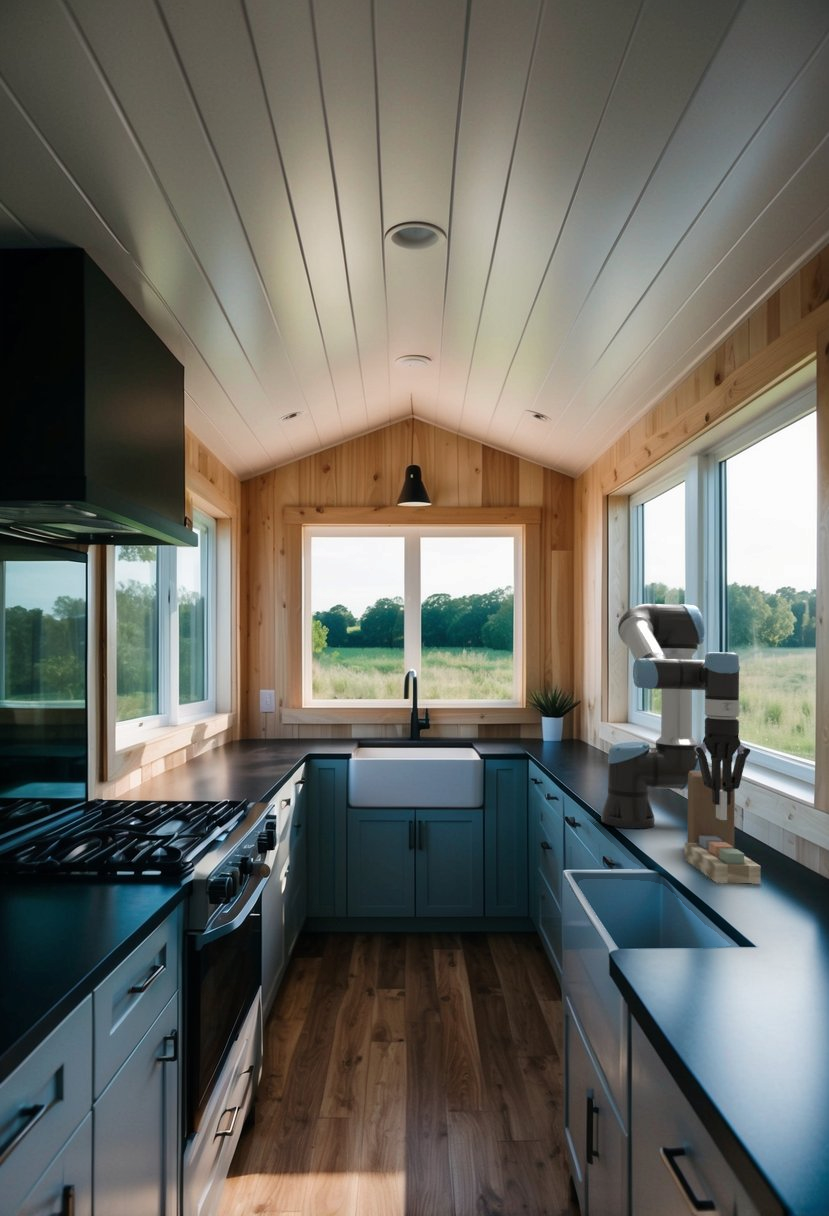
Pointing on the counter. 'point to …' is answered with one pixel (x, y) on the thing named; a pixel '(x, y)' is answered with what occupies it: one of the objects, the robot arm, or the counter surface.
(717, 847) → the terracotta button
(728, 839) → the block
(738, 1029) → the counter surface
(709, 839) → the grey small cube
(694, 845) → the wooden slotted tray
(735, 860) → the green button
